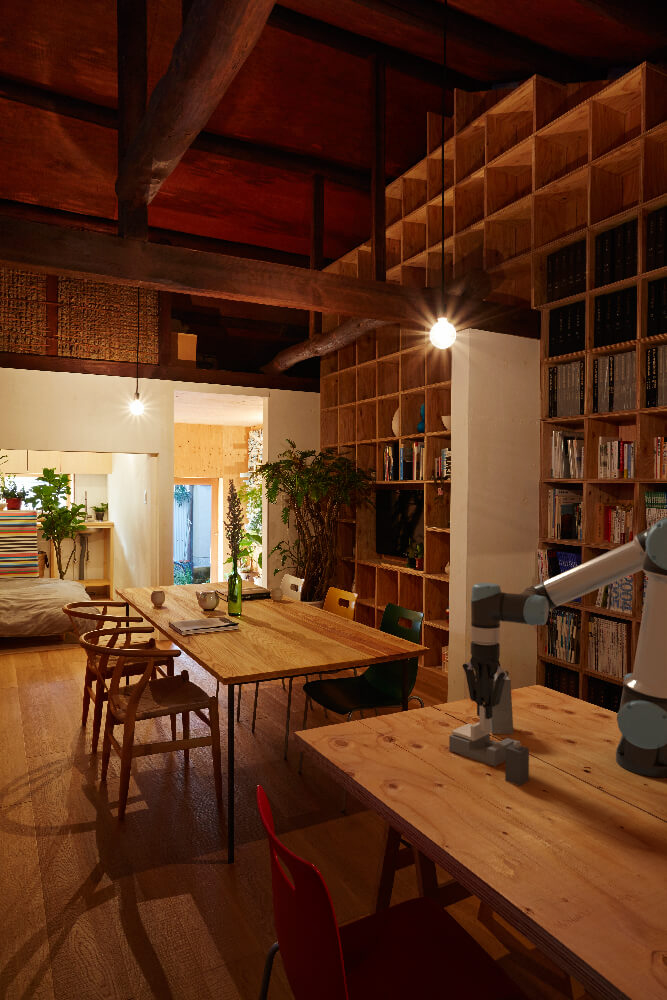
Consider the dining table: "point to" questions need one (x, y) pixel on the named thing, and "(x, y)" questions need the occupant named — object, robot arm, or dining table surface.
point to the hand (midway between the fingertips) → (484, 729)
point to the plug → (517, 764)
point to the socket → (481, 748)
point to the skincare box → (502, 711)
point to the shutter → (470, 732)
